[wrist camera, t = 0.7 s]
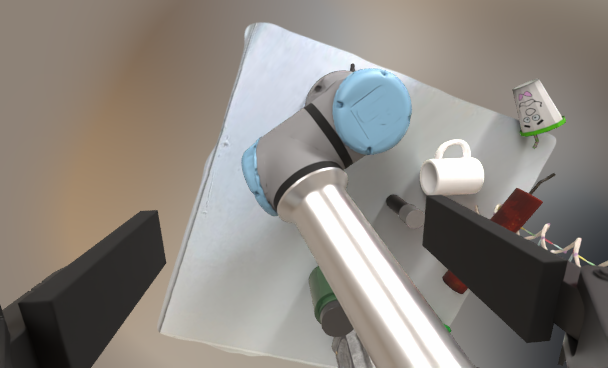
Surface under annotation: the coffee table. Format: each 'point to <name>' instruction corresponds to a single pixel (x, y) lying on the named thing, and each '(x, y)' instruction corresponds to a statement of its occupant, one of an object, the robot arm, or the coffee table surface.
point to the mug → (451, 173)
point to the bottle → (327, 306)
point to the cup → (536, 110)
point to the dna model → (542, 241)
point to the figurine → (351, 352)
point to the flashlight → (406, 212)
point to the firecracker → (506, 222)
